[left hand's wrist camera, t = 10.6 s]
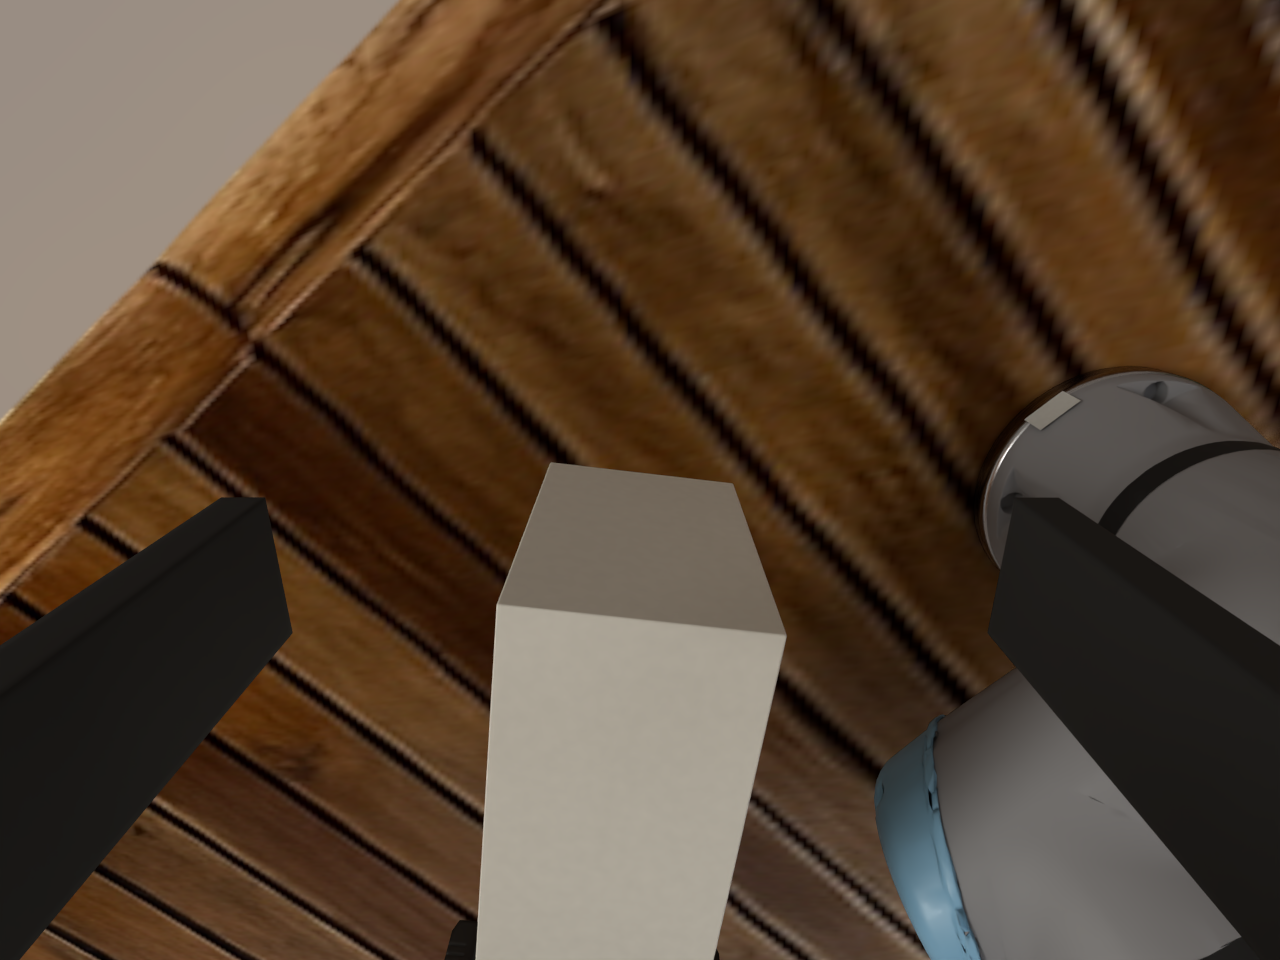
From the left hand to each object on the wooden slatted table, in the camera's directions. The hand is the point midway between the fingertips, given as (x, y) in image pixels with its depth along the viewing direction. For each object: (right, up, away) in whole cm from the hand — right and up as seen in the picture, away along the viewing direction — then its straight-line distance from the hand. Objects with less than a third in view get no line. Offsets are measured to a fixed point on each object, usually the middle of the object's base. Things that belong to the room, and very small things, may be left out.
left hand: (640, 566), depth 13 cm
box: (-1, -9, +20) cm, 22 cm away
